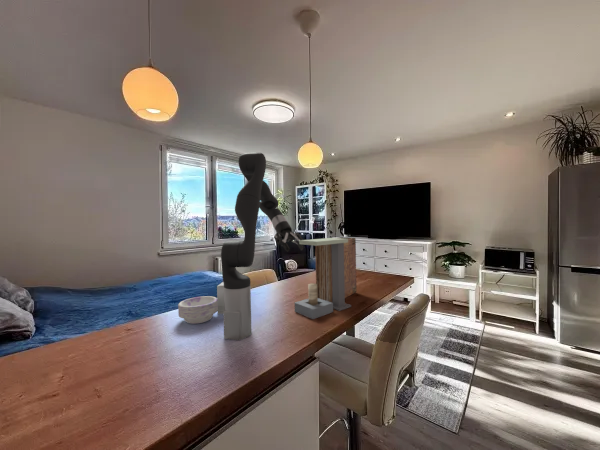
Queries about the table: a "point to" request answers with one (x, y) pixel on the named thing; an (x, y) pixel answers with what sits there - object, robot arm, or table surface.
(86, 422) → the table surface
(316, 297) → the peg
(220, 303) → the supplement box
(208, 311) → the paper bowls
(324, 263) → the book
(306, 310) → the socket
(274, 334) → the table surface
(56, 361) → the table surface
